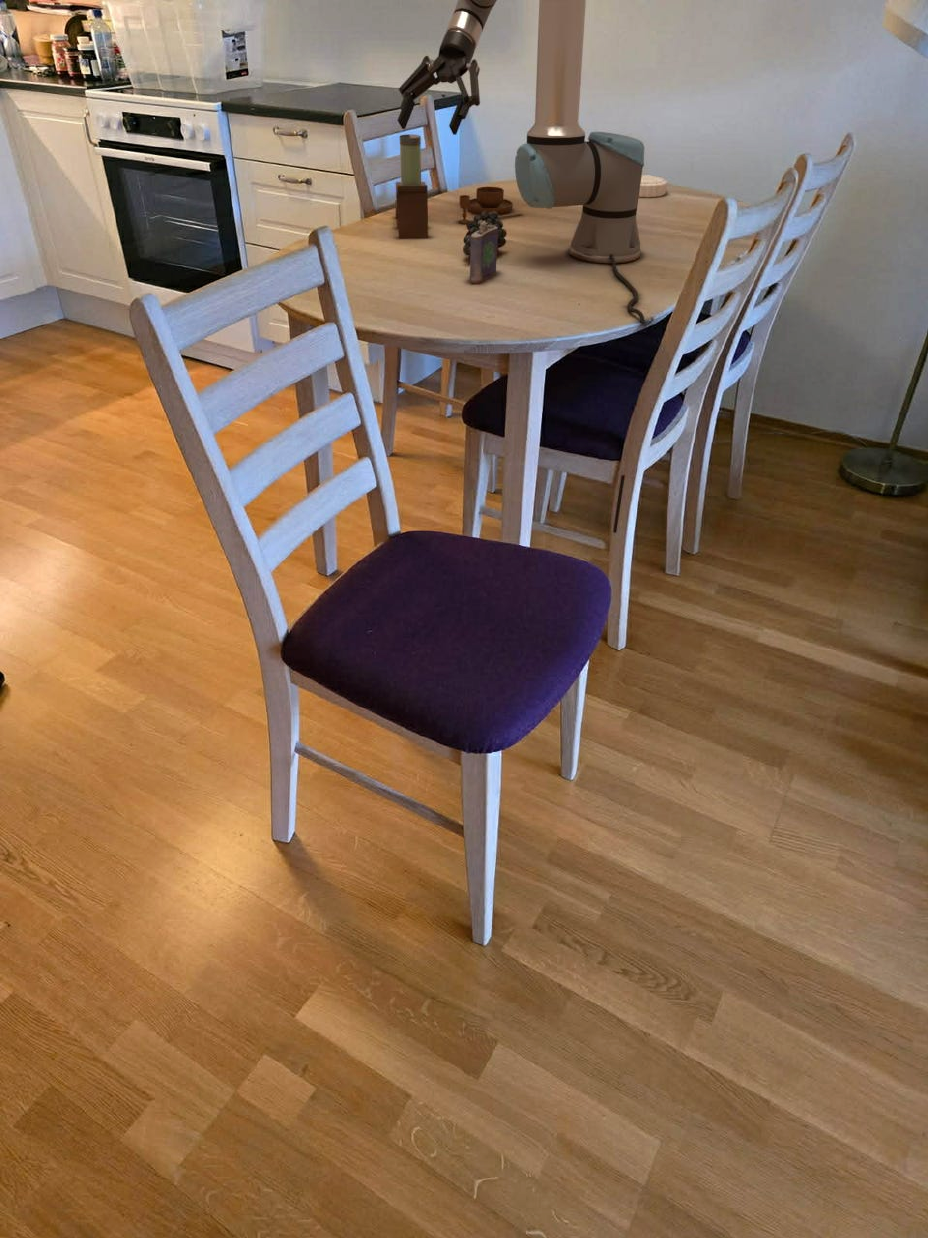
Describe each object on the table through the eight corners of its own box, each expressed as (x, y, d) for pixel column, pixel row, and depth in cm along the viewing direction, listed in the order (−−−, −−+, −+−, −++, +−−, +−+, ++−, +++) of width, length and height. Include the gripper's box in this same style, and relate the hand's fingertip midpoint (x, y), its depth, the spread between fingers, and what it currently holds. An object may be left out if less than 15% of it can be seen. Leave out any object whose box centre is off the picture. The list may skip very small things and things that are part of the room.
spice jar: (422, 188, 189) (421, 137, 183) (401, 188, 189) (399, 137, 182) (421, 183, 193) (420, 134, 186) (400, 183, 192) (399, 134, 186)
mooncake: (655, 199, 226) (657, 184, 224) (614, 193, 231) (616, 179, 229) (672, 191, 234) (674, 177, 232) (632, 185, 239) (634, 171, 237)
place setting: (529, 214, 212) (530, 188, 208) (464, 224, 203) (464, 198, 199) (489, 200, 223) (489, 175, 220) (425, 209, 214) (425, 184, 211)
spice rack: (428, 237, 194) (427, 185, 187) (398, 238, 193) (397, 185, 186) (423, 217, 208) (422, 168, 201) (395, 217, 208) (394, 168, 201)
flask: (478, 284, 167) (479, 226, 160) (465, 282, 168) (465, 224, 162) (499, 272, 173) (501, 216, 167) (486, 270, 175) (488, 214, 168)
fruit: (475, 220, 171) (505, 203, 181) (441, 229, 175) (472, 211, 185) (487, 263, 175) (515, 244, 185) (453, 271, 179) (483, 252, 190)
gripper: (513, 58, 188) (480, 144, 188) (419, 52, 198) (387, 133, 197) (503, 31, 181) (469, 120, 181) (407, 25, 191) (373, 110, 190)
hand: (426, 127), depth 189 cm, fingers open, 13 cm apart
